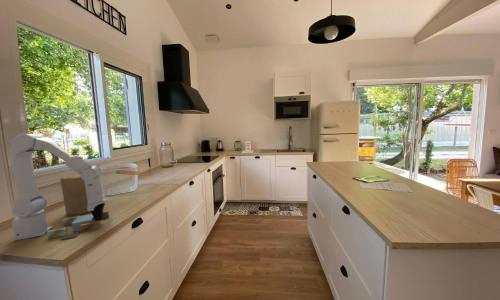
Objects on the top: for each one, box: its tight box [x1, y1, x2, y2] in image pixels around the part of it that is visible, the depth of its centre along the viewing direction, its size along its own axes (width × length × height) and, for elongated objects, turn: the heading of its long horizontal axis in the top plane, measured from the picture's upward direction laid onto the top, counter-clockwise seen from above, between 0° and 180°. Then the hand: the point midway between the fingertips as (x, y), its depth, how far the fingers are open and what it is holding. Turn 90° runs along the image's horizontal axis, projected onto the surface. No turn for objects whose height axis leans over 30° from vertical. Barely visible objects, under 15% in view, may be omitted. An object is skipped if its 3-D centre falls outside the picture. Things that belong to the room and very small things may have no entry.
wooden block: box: [59, 173, 89, 216], centre depth 110 cm, size 10×10×20 cm
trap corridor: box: [46, 210, 110, 241], centre depth 91 cm, size 18×22×3 cm
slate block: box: [71, 213, 98, 233], centre depth 92 cm, size 7×8×4 cm
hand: (98, 220), depth 94 cm, fingers closed
